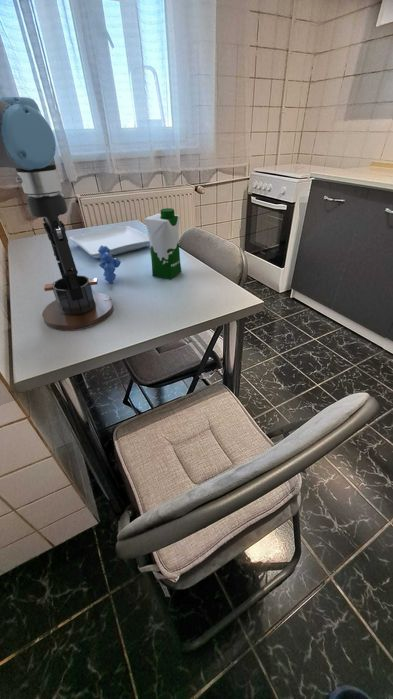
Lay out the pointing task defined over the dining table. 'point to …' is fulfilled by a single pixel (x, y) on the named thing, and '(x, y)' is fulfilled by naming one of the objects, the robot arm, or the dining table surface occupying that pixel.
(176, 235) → the milk carton
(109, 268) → the grapes
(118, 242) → the square plate
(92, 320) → the turntable
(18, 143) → the robot arm
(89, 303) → the cooking pot
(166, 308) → the dining table surface
